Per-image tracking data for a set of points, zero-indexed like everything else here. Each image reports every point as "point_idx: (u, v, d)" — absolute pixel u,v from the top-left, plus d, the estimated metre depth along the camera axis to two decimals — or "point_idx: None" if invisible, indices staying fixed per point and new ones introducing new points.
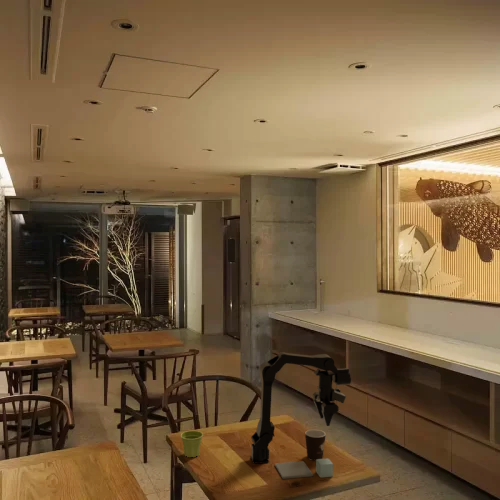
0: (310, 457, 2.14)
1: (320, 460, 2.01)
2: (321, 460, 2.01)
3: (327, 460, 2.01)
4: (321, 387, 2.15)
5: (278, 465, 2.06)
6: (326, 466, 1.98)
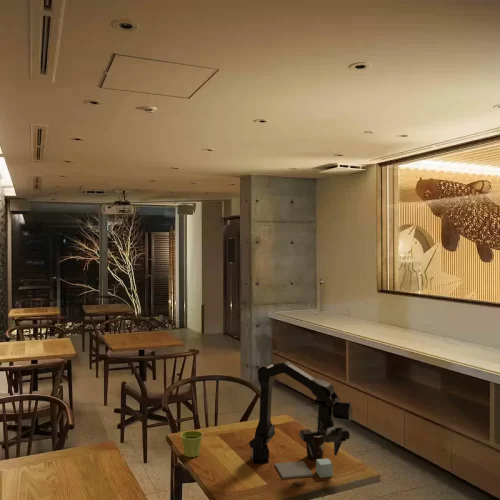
0: (310, 457, 2.14)
1: (320, 460, 2.01)
2: (321, 460, 2.01)
3: (327, 460, 2.01)
4: None
5: (278, 465, 2.06)
6: (326, 466, 1.98)
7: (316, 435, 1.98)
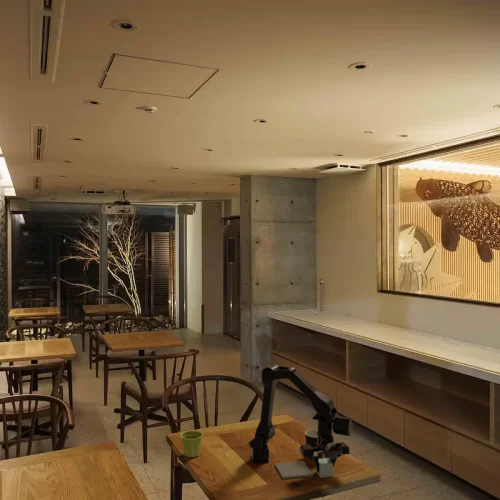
0: (310, 457, 2.14)
1: (320, 460, 2.01)
2: (321, 460, 2.01)
3: (327, 460, 2.01)
4: None
5: (278, 465, 2.06)
6: (326, 465, 1.98)
7: (316, 450, 1.98)
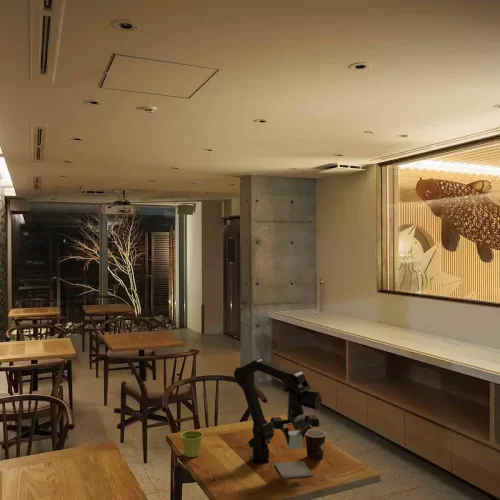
0: (310, 457, 2.14)
1: (290, 432, 2.04)
2: (291, 432, 2.04)
3: (297, 432, 2.04)
4: None
5: (278, 465, 2.06)
6: (296, 437, 2.00)
7: (286, 422, 2.01)
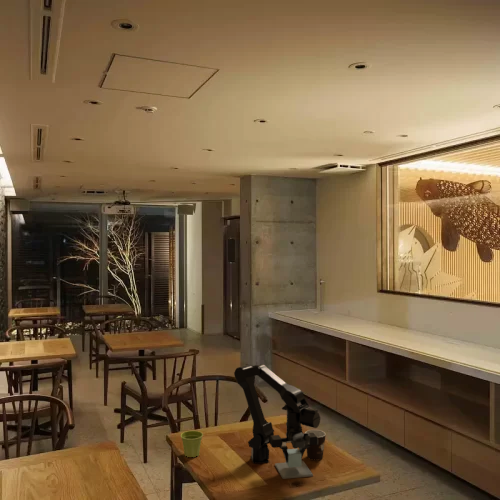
0: (310, 457, 2.14)
1: (289, 450, 2.04)
2: (290, 450, 2.04)
3: (296, 450, 2.04)
4: None
5: (278, 465, 2.06)
6: (294, 455, 2.01)
7: (285, 441, 2.01)
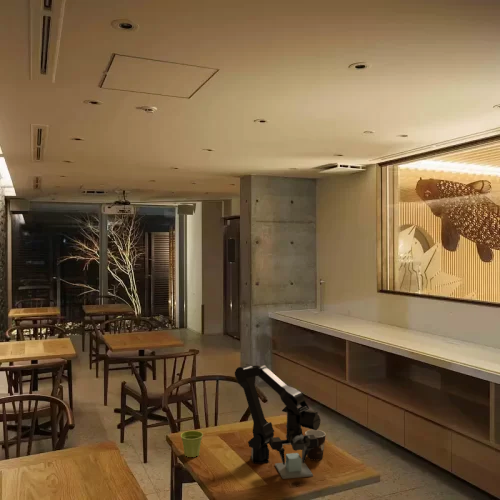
0: (310, 457, 2.14)
1: (289, 455, 2.04)
2: (290, 455, 2.04)
3: (296, 455, 2.04)
4: None
5: (278, 465, 2.06)
6: (295, 460, 2.01)
7: (285, 443, 2.01)
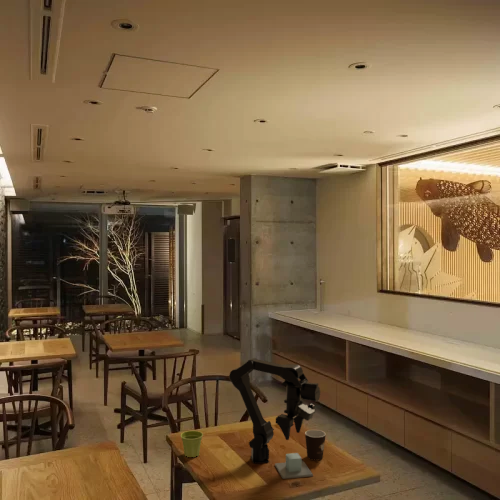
0: (310, 457, 2.14)
1: (289, 455, 2.04)
2: (290, 455, 2.04)
3: (296, 455, 2.04)
4: (286, 398, 2.05)
5: (278, 465, 2.06)
6: (295, 460, 2.01)
7: None
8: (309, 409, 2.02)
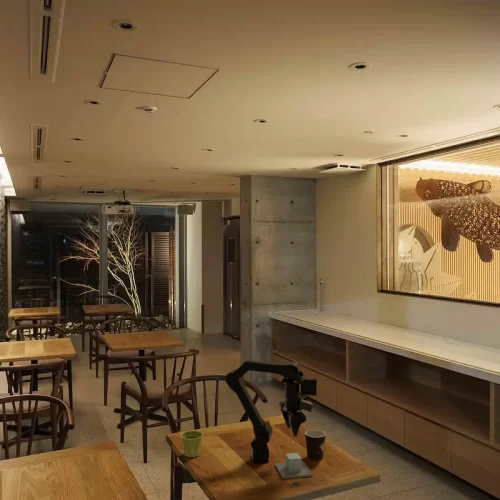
0: (310, 457, 2.14)
1: (289, 455, 2.04)
2: (290, 455, 2.04)
3: (296, 455, 2.04)
4: (288, 396, 2.07)
5: (278, 465, 2.06)
6: (295, 460, 2.01)
7: None
8: (307, 401, 2.11)
